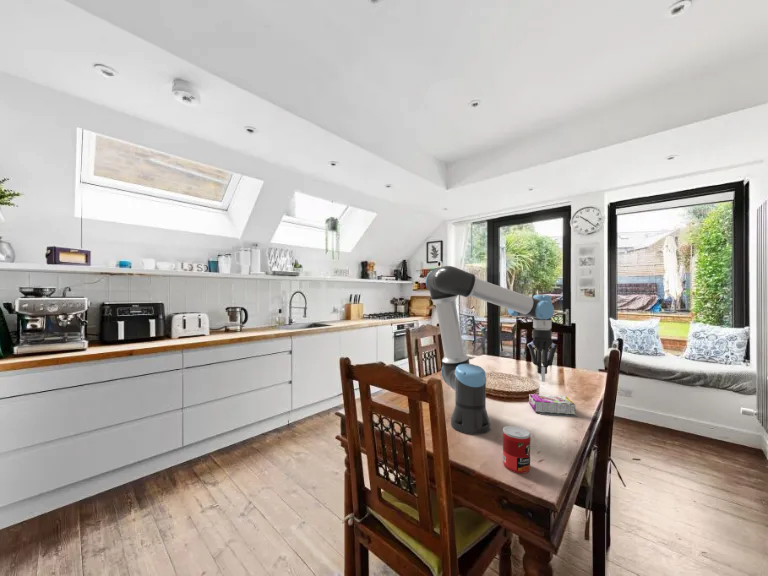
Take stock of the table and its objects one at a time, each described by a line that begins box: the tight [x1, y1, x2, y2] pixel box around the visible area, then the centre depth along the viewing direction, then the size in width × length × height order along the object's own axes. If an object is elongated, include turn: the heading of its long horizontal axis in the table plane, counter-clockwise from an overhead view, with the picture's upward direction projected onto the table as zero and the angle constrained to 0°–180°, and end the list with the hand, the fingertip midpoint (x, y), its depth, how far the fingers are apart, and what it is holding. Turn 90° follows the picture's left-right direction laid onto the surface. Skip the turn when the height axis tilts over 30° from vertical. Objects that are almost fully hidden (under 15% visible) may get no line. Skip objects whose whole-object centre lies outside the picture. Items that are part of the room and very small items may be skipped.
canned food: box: [502, 425, 531, 474], centre depth 99 cm, size 8×8×11 cm
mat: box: [538, 412, 579, 418], centre depth 146 cm, size 15×14×1 cm
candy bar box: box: [528, 393, 576, 415], centre depth 145 cm, size 11×5×16 cm
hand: (542, 380), depth 146 cm, fingers closed
